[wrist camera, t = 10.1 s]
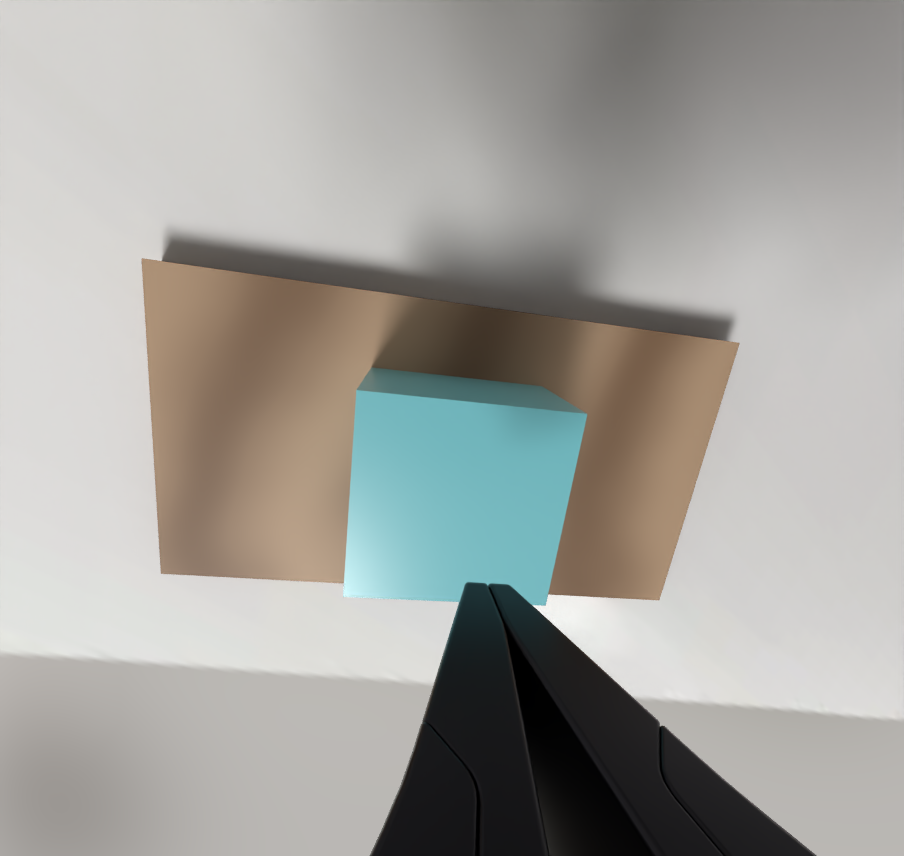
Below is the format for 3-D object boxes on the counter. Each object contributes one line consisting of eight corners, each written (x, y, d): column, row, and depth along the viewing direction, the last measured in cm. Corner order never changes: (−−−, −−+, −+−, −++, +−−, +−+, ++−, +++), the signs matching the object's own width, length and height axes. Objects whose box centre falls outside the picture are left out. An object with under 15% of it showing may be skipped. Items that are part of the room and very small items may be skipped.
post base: (719, 340, 16) (801, 349, 13) (646, 585, 19) (697, 645, 16) (160, 261, 13) (78, 246, 10) (175, 557, 16) (115, 622, 13)
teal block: (541, 386, 15) (587, 413, 11) (514, 535, 16) (545, 605, 13) (371, 367, 14) (356, 390, 10) (359, 526, 16) (343, 596, 12)
